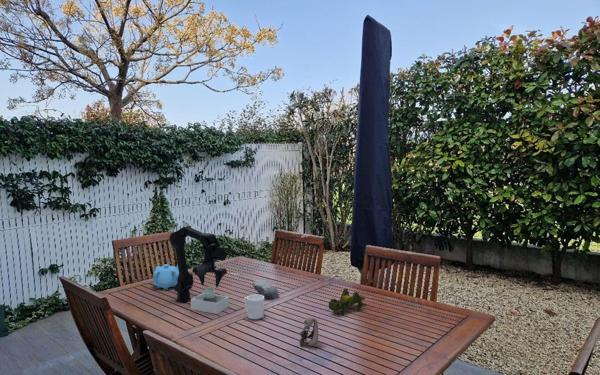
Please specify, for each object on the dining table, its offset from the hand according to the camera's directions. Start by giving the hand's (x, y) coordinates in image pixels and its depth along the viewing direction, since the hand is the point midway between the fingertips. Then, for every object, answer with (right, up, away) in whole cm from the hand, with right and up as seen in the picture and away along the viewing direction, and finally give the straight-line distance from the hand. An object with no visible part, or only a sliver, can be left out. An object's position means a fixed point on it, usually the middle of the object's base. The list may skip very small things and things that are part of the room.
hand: (209, 286), depth 206 cm
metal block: (0, -11, +1) cm, 11 cm away
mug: (+25, -13, -11) cm, 31 cm away
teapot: (-35, -10, +38) cm, 53 cm away
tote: (0, -12, +1) cm, 12 cm away
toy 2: (+74, -12, -2) cm, 76 cm away
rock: (+29, -11, +19) cm, 36 cm away
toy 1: (+53, -15, -41) cm, 69 cm away
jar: (0, -6, 0) cm, 6 cm away
